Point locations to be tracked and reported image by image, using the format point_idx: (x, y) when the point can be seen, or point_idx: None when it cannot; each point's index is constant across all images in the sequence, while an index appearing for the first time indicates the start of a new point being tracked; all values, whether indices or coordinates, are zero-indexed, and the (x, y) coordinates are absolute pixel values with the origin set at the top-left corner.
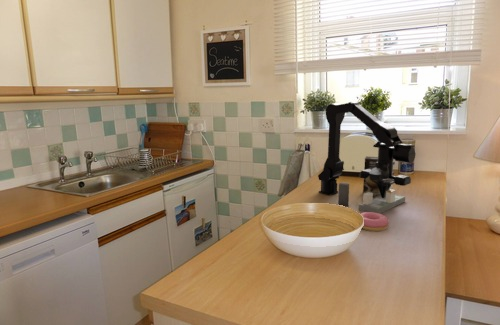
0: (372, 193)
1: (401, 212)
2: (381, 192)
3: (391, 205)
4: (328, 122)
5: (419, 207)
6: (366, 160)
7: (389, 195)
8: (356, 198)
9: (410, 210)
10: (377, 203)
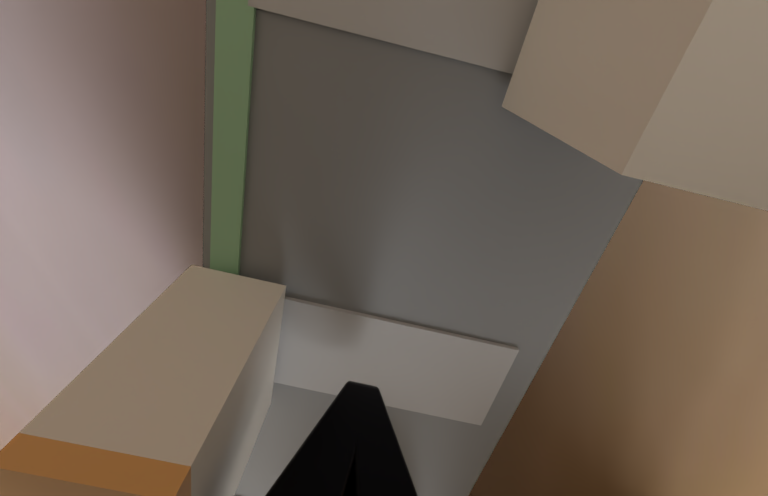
0: (638, 115)
1: (38, 145)
2: (372, 482)
3: None
4: None
5: (26, 411)
6: None
7: (126, 378)
8: (747, 419)
9: (19, 284)
10: (401, 166)
